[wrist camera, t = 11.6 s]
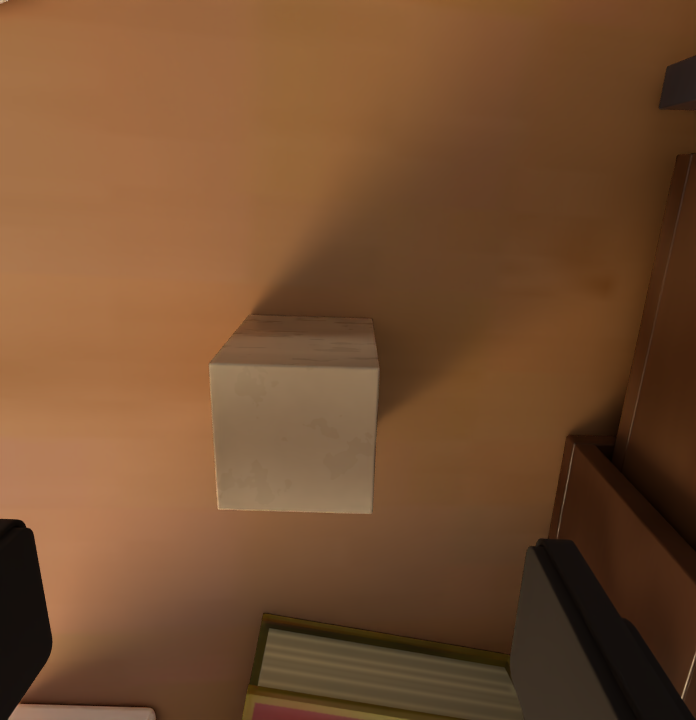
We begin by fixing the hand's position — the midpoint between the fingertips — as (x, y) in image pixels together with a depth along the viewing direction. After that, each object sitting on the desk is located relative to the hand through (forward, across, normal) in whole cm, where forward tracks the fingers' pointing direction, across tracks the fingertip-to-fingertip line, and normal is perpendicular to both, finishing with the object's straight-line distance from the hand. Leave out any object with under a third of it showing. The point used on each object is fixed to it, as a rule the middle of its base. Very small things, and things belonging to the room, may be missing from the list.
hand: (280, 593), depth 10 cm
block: (+11, 0, -1) cm, 11 cm away
